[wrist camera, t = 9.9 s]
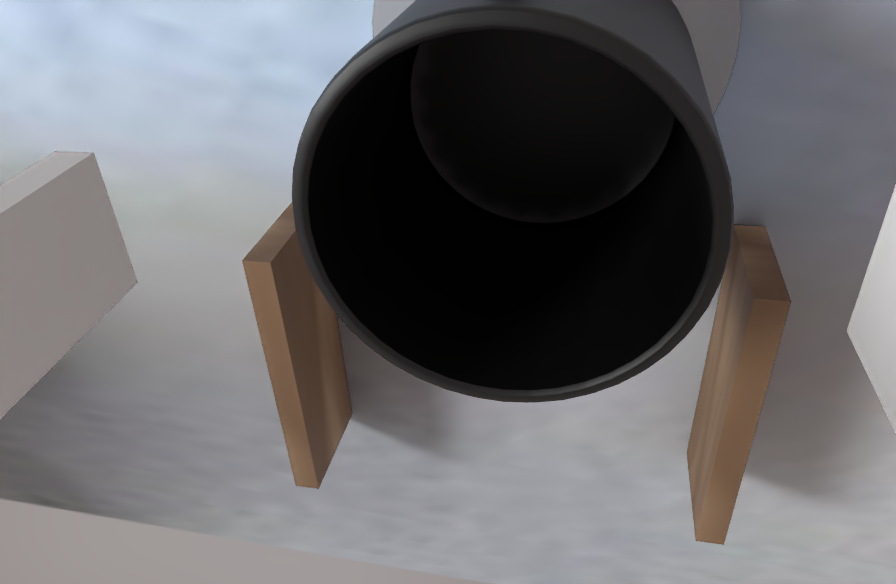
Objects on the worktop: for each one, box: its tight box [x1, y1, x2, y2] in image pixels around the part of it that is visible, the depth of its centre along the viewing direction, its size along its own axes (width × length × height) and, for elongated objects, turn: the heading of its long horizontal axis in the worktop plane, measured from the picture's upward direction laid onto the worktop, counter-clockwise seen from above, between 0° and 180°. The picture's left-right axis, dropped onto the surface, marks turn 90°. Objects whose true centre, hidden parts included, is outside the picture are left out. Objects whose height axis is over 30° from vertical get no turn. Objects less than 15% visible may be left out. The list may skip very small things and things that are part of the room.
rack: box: [242, 203, 791, 545], centre depth 27 cm, size 17×11×4 cm, turn 92°
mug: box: [292, 0, 734, 402], centre depth 18 cm, size 9×12×9 cm
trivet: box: [372, 0, 741, 114], centre depth 22 cm, size 11×11×1 cm
